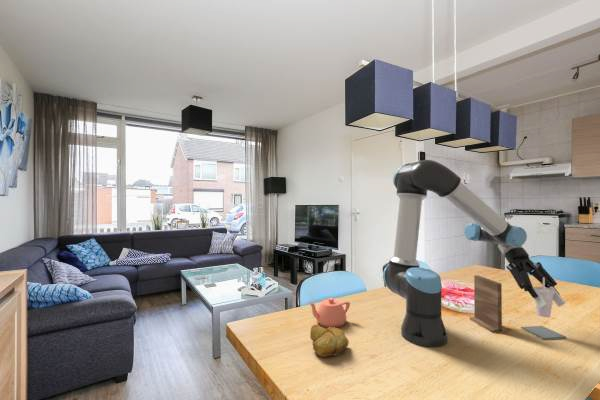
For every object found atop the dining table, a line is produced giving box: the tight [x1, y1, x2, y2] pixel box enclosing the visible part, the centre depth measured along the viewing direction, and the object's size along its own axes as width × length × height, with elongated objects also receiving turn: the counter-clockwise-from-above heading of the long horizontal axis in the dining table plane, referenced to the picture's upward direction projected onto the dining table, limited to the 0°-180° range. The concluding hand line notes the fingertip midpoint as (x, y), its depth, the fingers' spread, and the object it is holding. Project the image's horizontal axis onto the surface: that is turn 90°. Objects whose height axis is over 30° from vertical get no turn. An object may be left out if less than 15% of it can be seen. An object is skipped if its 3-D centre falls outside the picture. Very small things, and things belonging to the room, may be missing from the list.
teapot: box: [307, 297, 351, 328], centre depth 115 cm, size 12×18×10 cm
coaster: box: [520, 325, 567, 340], centre depth 105 cm, size 9×9×1 cm
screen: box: [469, 274, 508, 334], centre depth 111 cm, size 6×12×18 cm, turn 6°
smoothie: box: [532, 277, 555, 318], centre depth 105 cm, size 6×6×14 cm
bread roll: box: [309, 324, 350, 358], centre depth 92 cm, size 13×10×8 cm
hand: (553, 305), depth 101 cm, fingers closed on smoothie, 6 cm apart
